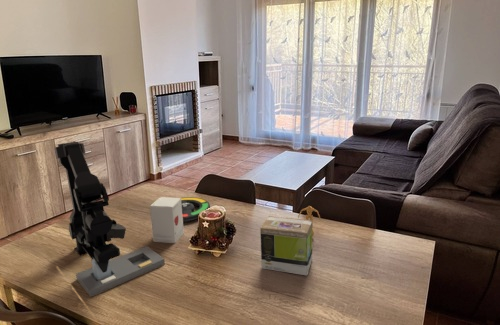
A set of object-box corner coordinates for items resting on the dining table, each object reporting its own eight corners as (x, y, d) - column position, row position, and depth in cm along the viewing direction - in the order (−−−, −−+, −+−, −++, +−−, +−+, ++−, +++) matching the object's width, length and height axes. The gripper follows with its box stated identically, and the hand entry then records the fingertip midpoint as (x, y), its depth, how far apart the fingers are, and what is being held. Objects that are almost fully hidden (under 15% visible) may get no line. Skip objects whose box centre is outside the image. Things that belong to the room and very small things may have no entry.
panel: (77, 280, 112) (75, 272, 111) (147, 252, 127) (146, 245, 127) (90, 298, 103) (89, 290, 103) (164, 265, 119) (164, 258, 118)
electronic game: (201, 200, 174) (201, 190, 173) (217, 218, 154) (216, 207, 153) (153, 208, 165) (152, 199, 164) (163, 229, 145) (162, 218, 144)
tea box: (312, 260, 120) (313, 219, 116) (307, 277, 111) (308, 233, 106) (269, 253, 125) (268, 214, 120) (260, 269, 115) (259, 227, 111)
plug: (94, 279, 112) (90, 257, 109) (107, 274, 114) (103, 252, 112) (99, 284, 109) (95, 262, 107) (112, 279, 111) (108, 257, 109)
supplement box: (175, 244, 132) (172, 207, 128) (153, 242, 134) (148, 205, 130) (184, 233, 141) (181, 197, 136) (163, 231, 142) (159, 196, 138)
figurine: (296, 239, 134) (296, 209, 130) (298, 231, 139) (299, 203, 136) (319, 241, 132) (320, 211, 128) (320, 233, 137) (321, 204, 134)
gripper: (134, 223, 104) (140, 270, 109) (108, 205, 118) (115, 248, 122) (95, 236, 97) (103, 286, 102) (72, 216, 111) (80, 260, 115)
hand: (101, 268), depth 110 cm, fingers open, 5 cm apart
